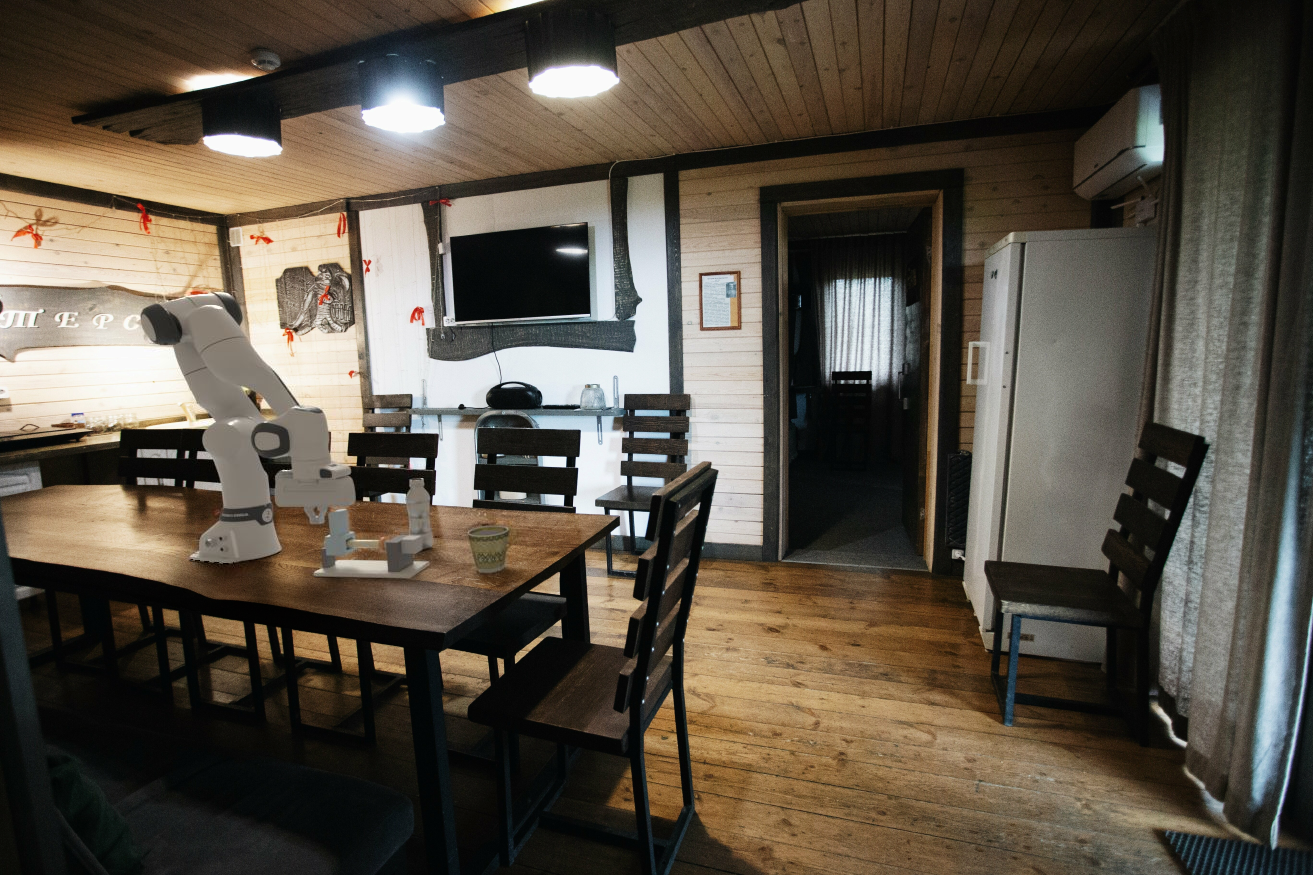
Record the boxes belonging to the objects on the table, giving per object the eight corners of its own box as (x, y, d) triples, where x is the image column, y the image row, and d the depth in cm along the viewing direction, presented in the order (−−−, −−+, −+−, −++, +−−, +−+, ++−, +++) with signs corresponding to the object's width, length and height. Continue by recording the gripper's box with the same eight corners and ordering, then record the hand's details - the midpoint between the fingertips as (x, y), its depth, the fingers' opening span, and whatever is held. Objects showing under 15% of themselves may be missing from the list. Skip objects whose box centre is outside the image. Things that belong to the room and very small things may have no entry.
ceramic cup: (476, 578, 155) (474, 538, 154) (465, 567, 164) (462, 529, 163) (527, 568, 162) (525, 529, 161) (514, 558, 171) (512, 521, 169)
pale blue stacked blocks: (326, 555, 162) (322, 513, 160) (338, 549, 166) (334, 508, 165) (344, 555, 161) (341, 513, 160) (356, 549, 166) (352, 509, 165)
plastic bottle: (426, 552, 178) (421, 481, 175) (404, 551, 179) (398, 481, 177) (438, 546, 184) (433, 477, 182) (417, 545, 185) (412, 477, 183)
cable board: (313, 576, 160) (310, 541, 159) (338, 563, 170) (335, 531, 169) (410, 578, 157) (407, 543, 156) (429, 565, 166) (427, 532, 165)
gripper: (265, 472, 160) (271, 526, 162) (341, 471, 158) (346, 526, 159) (283, 467, 167) (288, 519, 168) (356, 467, 164) (361, 520, 165)
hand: (317, 523), depth 164 cm, fingers closed
